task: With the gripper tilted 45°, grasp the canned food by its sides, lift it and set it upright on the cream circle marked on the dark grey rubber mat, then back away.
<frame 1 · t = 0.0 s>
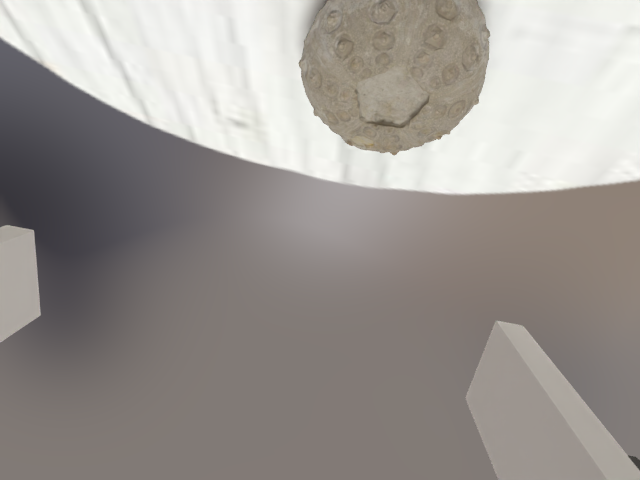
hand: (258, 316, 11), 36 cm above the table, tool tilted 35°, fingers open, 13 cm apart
grey rounded rock: (393, 47, 40), on the table
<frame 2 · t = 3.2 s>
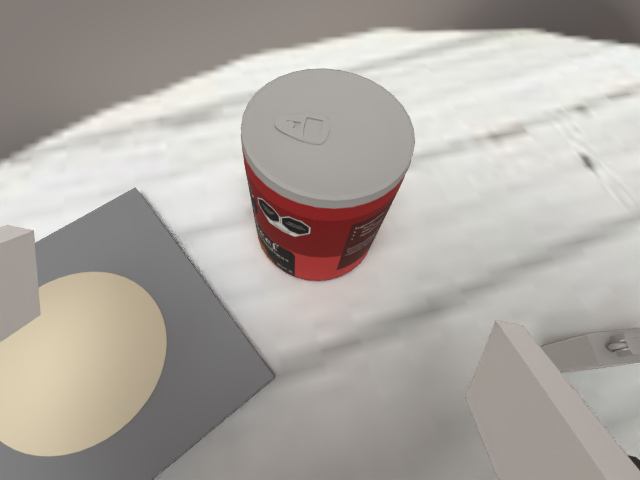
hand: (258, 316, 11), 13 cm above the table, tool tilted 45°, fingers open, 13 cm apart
layout mat: (84, 357, 22), on the table
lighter: (592, 354, 25), on the table
canned food: (314, 234, 27), on the table
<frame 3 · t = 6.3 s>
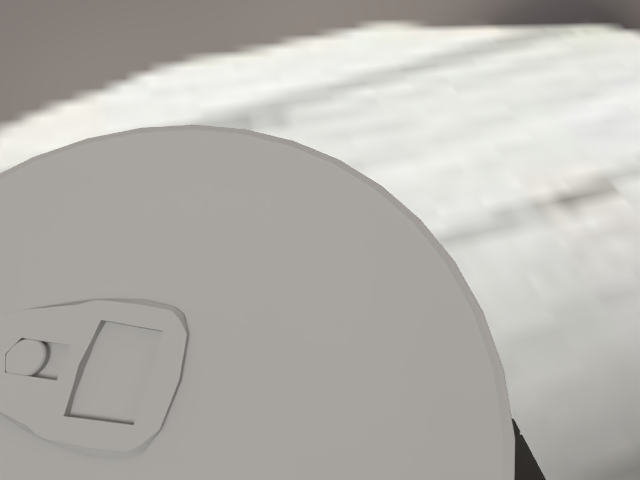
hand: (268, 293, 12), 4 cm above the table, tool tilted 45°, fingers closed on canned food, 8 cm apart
canned food: (252, 407, 14), on the table, touching gripper
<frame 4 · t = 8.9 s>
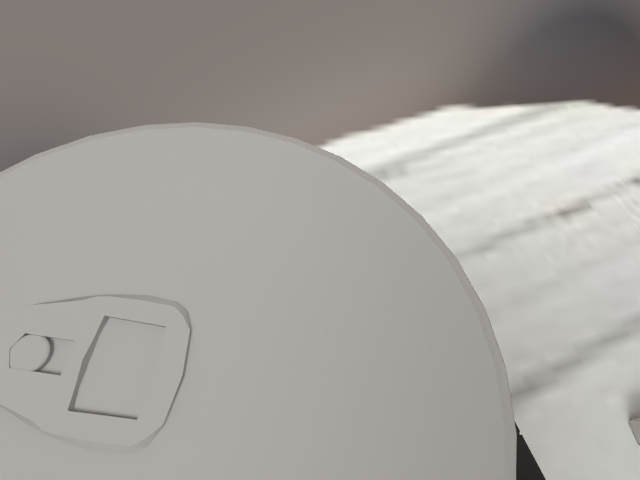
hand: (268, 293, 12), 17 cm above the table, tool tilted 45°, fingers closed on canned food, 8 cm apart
canned food: (253, 406, 14), point 13 cm above the table, touching gripper
when the fingers open (6 cm above the table, at t = 11.6 s): canned food drops 1 cm, resting on layout mat.
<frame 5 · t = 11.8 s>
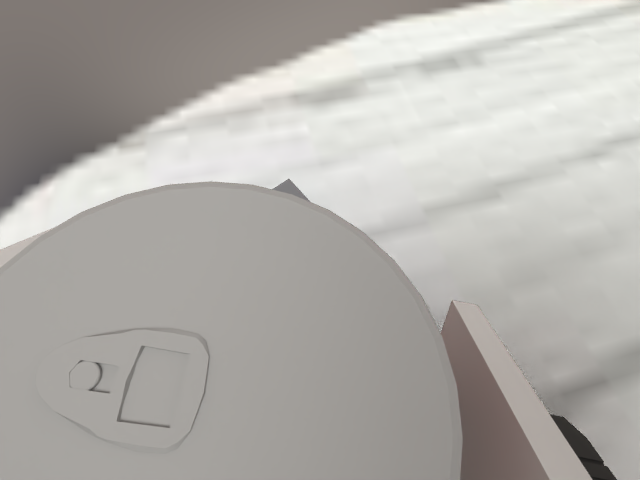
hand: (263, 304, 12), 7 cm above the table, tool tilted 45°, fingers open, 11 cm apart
canned food: (255, 409, 16), point 1 cm above the table, touching layout mat
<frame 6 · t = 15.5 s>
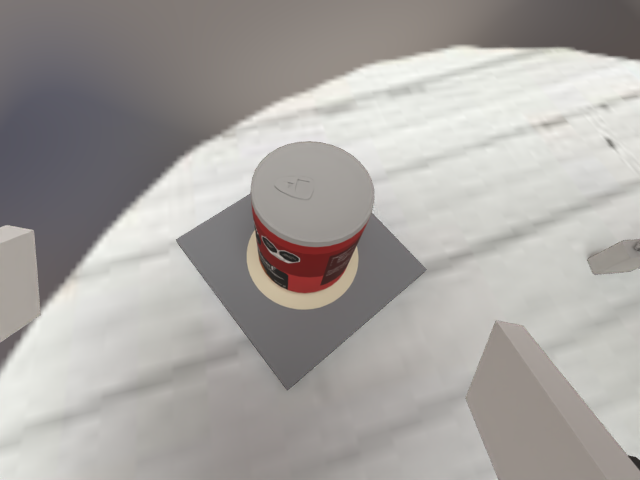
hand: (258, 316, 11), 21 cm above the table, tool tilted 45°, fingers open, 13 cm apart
layout mat: (302, 259, 35), on the table
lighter: (620, 264, 38), on the table
canned food: (303, 255, 34), point 1 cm above the table, touching layout mat
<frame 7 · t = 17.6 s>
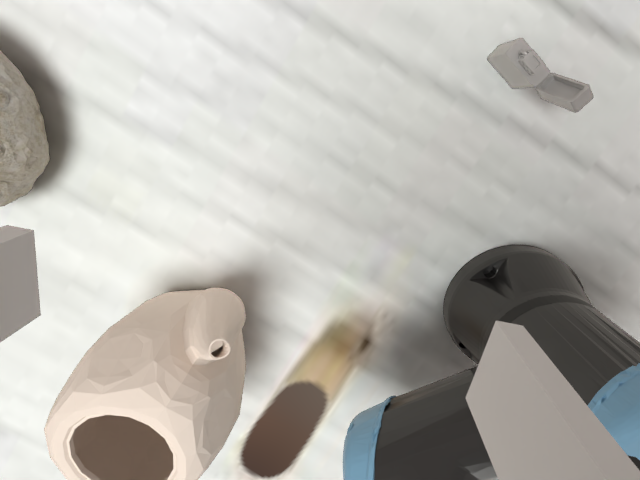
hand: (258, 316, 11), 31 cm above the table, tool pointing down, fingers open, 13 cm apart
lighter: (515, 78, 37), on the table
cream ceramic pot: (204, 320, 48), on the table
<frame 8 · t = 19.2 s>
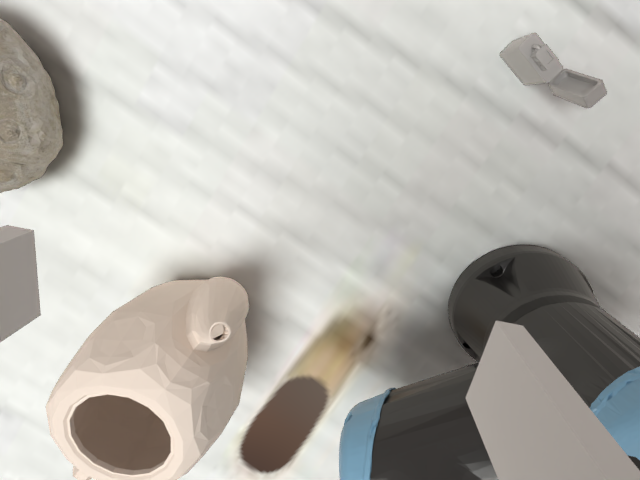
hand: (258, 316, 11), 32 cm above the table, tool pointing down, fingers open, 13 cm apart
grey rounded rock: (7, 101, 41), on the table
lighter: (528, 75, 37), on the table
cream ceramic pot: (208, 311, 48), on the table
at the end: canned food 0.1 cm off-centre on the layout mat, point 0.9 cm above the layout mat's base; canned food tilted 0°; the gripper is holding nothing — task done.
